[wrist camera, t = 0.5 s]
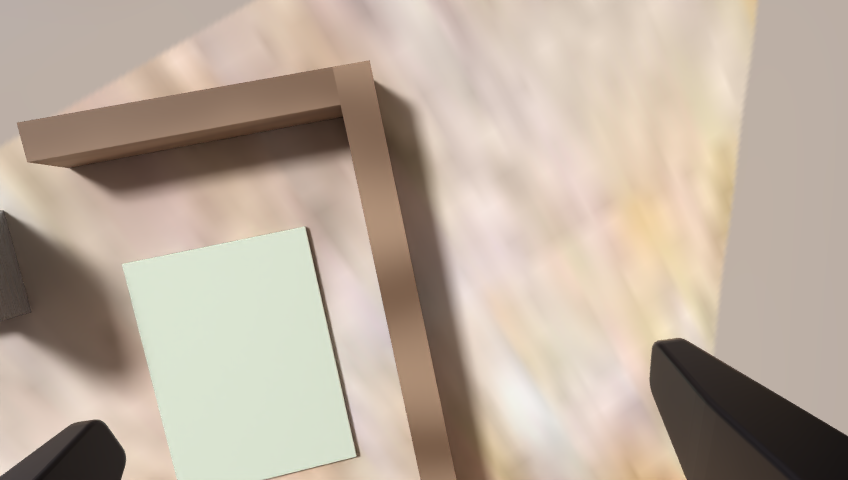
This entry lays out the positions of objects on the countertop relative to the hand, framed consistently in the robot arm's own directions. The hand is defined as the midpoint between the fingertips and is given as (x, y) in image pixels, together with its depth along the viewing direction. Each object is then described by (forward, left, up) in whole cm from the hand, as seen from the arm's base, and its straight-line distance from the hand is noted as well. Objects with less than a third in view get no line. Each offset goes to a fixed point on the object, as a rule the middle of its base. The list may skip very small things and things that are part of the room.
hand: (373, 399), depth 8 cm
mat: (-3, +7, -15) cm, 16 cm away
